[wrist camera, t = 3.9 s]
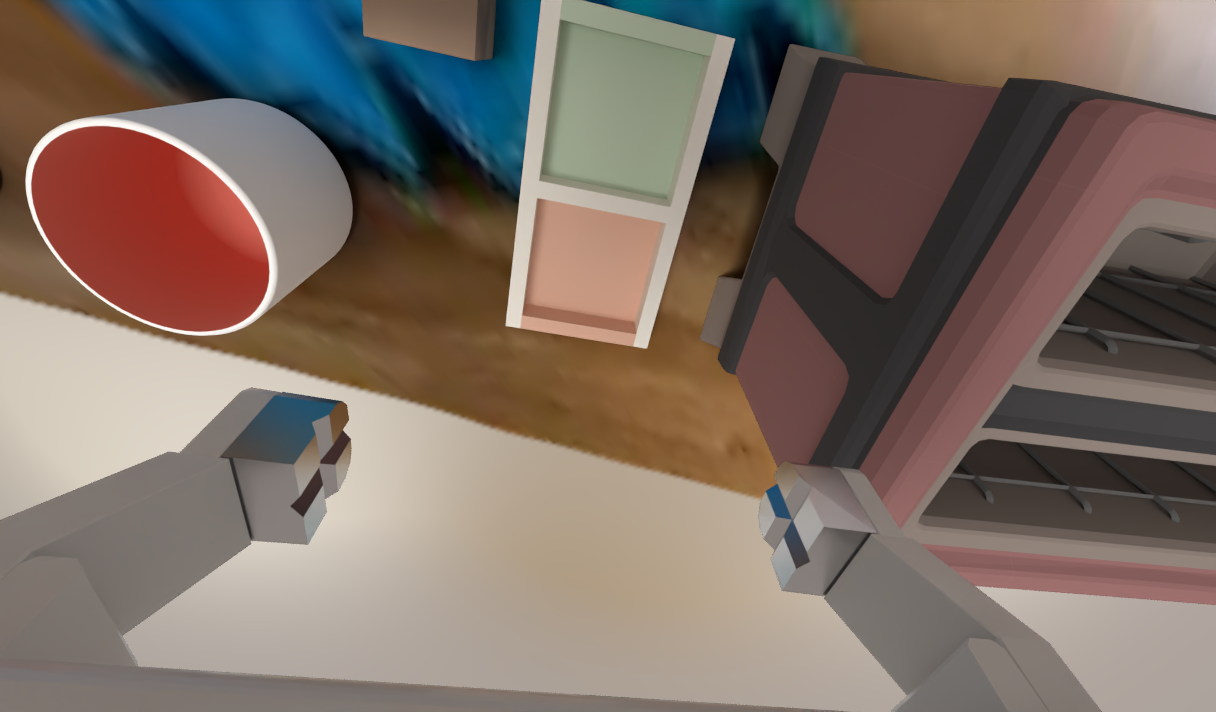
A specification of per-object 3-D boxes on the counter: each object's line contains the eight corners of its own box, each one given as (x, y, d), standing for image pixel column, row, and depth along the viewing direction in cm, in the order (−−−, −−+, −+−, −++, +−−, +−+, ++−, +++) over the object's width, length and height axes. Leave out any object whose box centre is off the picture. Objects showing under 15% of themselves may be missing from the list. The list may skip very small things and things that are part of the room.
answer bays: (545, -7, 26) (542, -10, 24) (726, 39, 27) (735, 38, 26) (509, 312, 36) (505, 325, 34) (644, 334, 37) (646, 348, 35)
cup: (320, 84, 28) (202, 101, 19) (383, 253, 33) (312, 324, 25) (149, 108, 28) (-39, 135, 20) (239, 271, 34) (121, 347, 25)
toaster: (1092, 391, 41) (1455, 642, 24) (698, 339, 38) (792, 592, 20) (1295, 148, 32) (2169, 275, 14) (788, 43, 28) (1127, 38, 10)
